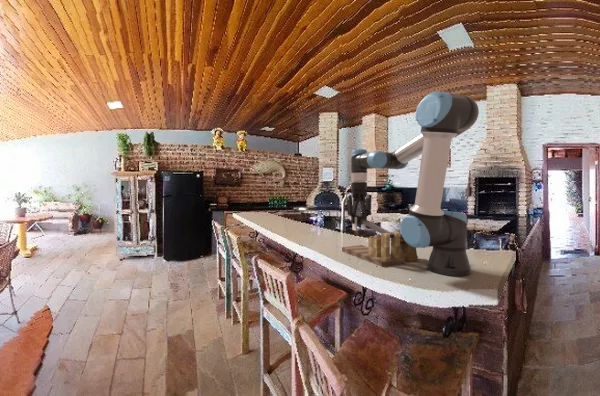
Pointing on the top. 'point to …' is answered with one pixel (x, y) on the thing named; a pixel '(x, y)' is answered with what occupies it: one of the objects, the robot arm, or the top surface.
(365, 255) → the nutcracker base
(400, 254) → the wooden mug
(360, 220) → the lever
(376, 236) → the walnut
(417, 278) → the top surface
